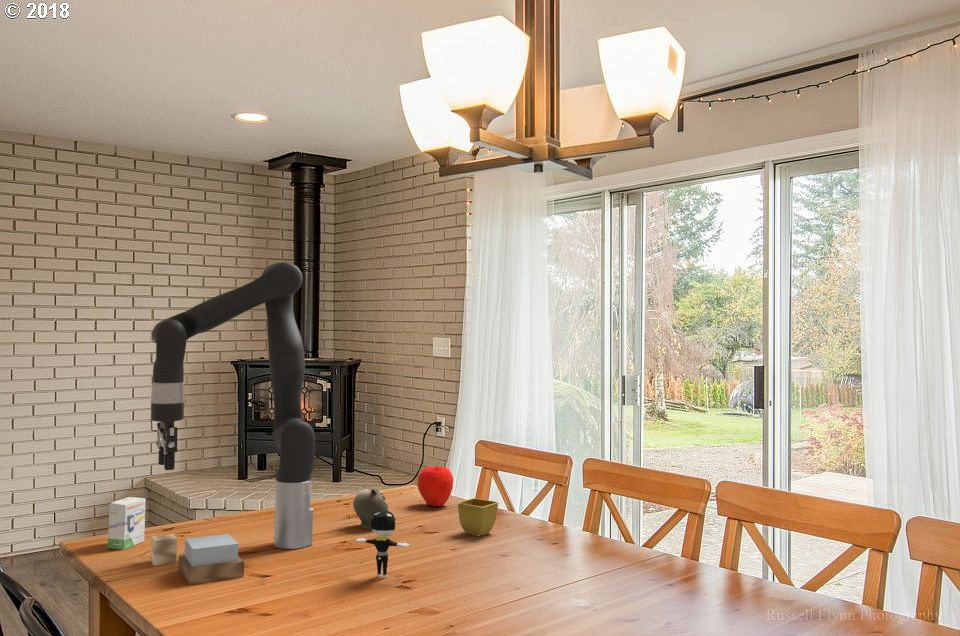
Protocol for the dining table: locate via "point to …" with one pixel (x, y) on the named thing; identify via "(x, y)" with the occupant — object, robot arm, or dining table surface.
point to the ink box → (126, 523)
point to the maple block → (163, 549)
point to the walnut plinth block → (210, 571)
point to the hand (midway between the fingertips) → (166, 467)
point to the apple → (435, 485)
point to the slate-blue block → (211, 550)
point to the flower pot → (477, 515)
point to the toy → (382, 539)
